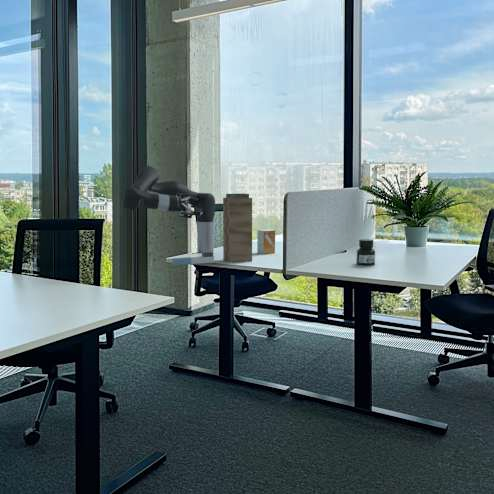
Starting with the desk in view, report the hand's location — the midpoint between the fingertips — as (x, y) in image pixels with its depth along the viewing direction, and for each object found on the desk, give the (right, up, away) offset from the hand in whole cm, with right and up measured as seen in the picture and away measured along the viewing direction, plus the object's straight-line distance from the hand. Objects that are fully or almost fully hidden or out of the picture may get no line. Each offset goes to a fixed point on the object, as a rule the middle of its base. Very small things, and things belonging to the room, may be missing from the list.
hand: (198, 207), depth 261 cm
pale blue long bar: (-4, -27, +9) cm, 29 cm away
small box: (+34, -23, +44) cm, 60 cm away
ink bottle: (+81, -28, +7) cm, 86 cm away
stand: (+18, -26, +17) cm, 36 cm away
